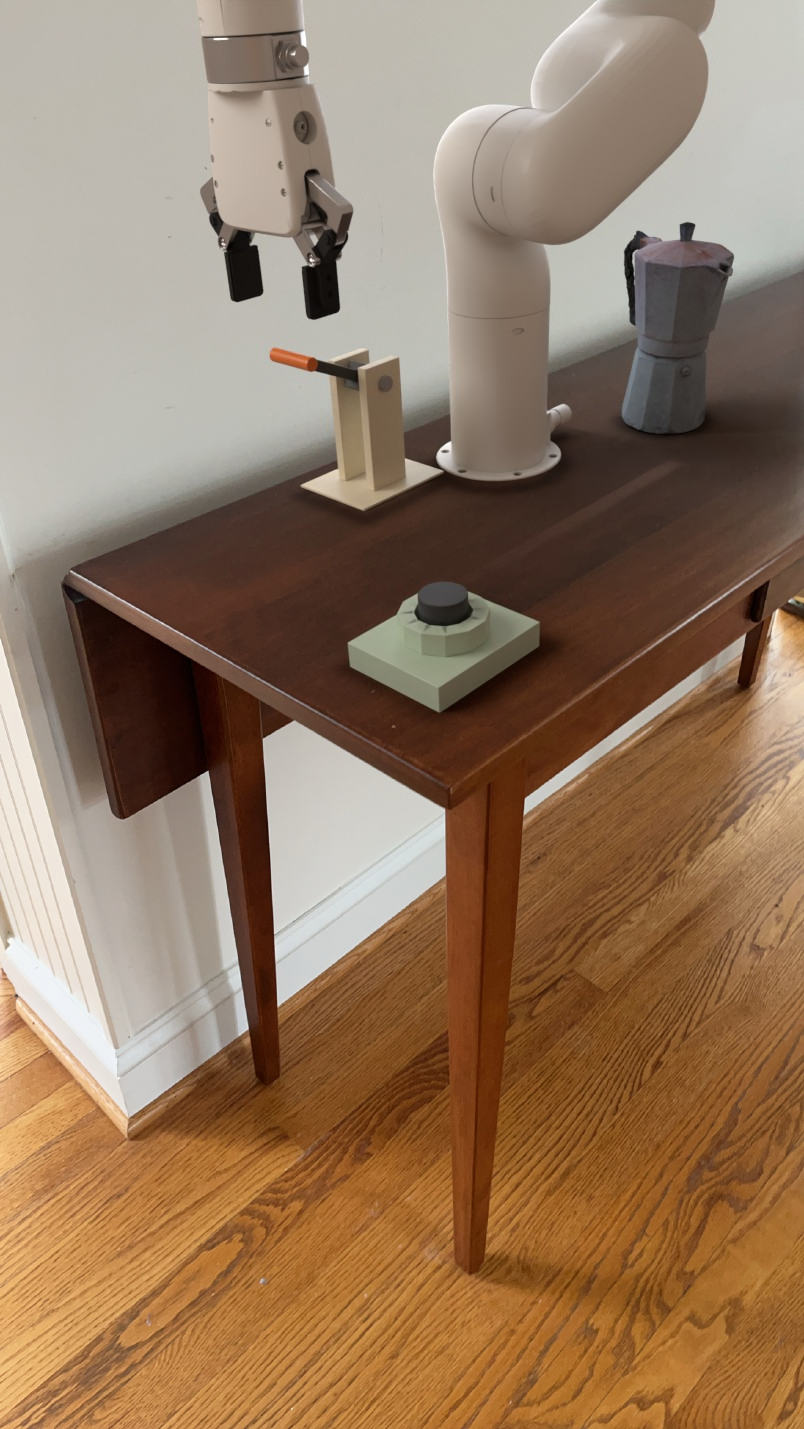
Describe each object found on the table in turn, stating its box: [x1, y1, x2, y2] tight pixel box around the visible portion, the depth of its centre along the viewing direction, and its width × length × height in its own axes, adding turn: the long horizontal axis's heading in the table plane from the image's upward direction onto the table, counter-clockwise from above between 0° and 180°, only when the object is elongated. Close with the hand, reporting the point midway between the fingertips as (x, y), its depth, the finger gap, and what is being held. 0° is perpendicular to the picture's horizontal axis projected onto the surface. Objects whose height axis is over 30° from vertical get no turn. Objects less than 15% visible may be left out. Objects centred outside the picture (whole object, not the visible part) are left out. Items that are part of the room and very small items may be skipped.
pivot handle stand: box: [300, 347, 445, 512], centre depth 97 cm, size 11×9×13 cm
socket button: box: [417, 581, 469, 626], centre depth 73 cm, size 4×4×2 cm
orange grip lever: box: [269, 346, 367, 391], centre depth 91 cm, size 11×5×2 cm, turn 136°
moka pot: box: [621, 221, 735, 435], centre depth 106 cm, size 10×15×20 cm, turn 33°
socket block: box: [347, 591, 541, 713], centre depth 75 cm, size 11×9×4 cm
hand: (284, 306), depth 85 cm, fingers open, 9 cm apart
